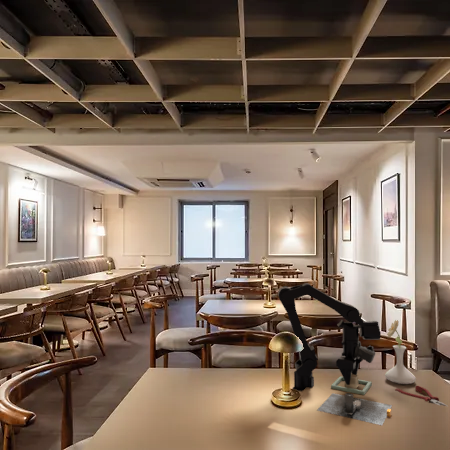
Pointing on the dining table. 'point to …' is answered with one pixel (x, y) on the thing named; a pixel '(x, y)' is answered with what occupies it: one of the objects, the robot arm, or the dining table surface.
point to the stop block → (353, 382)
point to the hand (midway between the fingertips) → (351, 380)
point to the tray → (367, 383)
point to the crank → (351, 403)
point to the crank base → (367, 412)
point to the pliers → (424, 391)
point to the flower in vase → (399, 362)
